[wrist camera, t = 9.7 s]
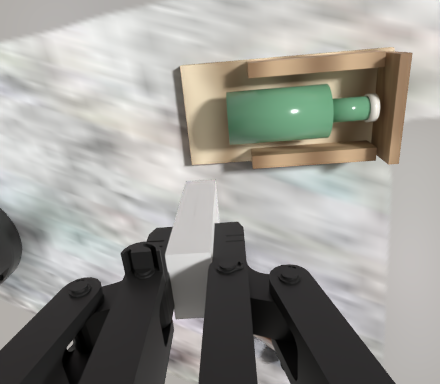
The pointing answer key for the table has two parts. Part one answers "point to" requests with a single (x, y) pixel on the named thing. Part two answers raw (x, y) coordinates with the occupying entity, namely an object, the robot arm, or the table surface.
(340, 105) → the bottle
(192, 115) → the cradle
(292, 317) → the robot arm
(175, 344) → the table surface
